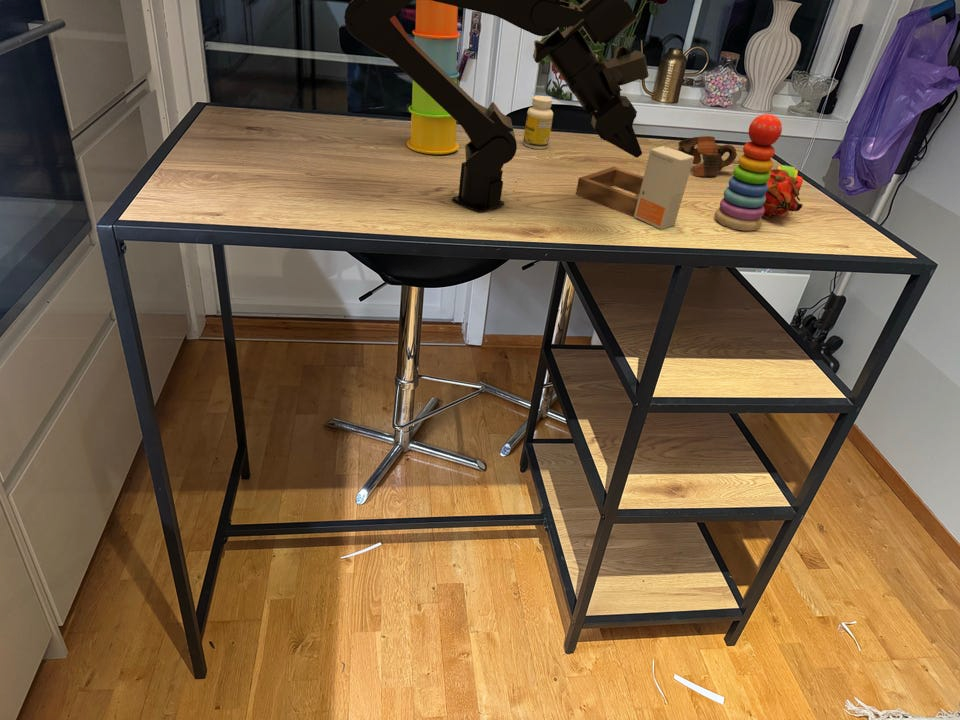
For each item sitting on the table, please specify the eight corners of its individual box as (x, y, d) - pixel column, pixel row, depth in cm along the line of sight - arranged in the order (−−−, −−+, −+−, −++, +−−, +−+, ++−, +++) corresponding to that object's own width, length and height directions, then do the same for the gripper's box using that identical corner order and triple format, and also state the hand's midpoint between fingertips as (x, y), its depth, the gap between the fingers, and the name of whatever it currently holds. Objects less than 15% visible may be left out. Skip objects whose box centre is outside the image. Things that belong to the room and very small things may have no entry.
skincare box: (632, 217, 121) (649, 148, 114) (646, 213, 124) (664, 145, 117) (661, 230, 117) (681, 159, 111) (675, 225, 120) (695, 156, 114)
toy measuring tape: (758, 205, 134) (770, 171, 131) (763, 177, 150) (773, 146, 146) (793, 213, 133) (806, 179, 129) (794, 184, 148) (805, 153, 145)
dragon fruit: (760, 207, 137) (773, 241, 128) (733, 179, 134) (745, 213, 125) (800, 178, 132) (817, 212, 124) (774, 149, 129) (789, 182, 120)
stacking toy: (724, 211, 129) (757, 105, 119) (766, 225, 125) (804, 118, 115) (706, 221, 124) (739, 111, 113) (749, 236, 120) (788, 124, 110)
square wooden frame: (575, 194, 128) (578, 178, 126) (631, 174, 141) (635, 159, 139) (632, 216, 122) (636, 199, 120) (685, 193, 135) (689, 178, 133)
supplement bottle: (519, 141, 151) (525, 94, 146) (542, 142, 153) (549, 95, 148) (527, 149, 147) (535, 101, 142) (551, 150, 149) (559, 102, 143)
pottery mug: (680, 178, 144) (677, 137, 144) (674, 185, 154) (672, 146, 153) (741, 171, 143) (739, 130, 142) (732, 179, 152) (729, 139, 151)
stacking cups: (424, 158, 135) (439, -51, 116) (397, 142, 141) (406, -58, 122) (468, 153, 140) (489, -47, 121) (439, 137, 147) (455, -54, 128)
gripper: (637, 41, 96) (693, 131, 103) (612, 20, 112) (663, 99, 119) (569, 94, 100) (628, 178, 107) (555, 67, 116) (607, 141, 122)
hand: (633, 146), depth 114 cm, fingers open, 9 cm apart
